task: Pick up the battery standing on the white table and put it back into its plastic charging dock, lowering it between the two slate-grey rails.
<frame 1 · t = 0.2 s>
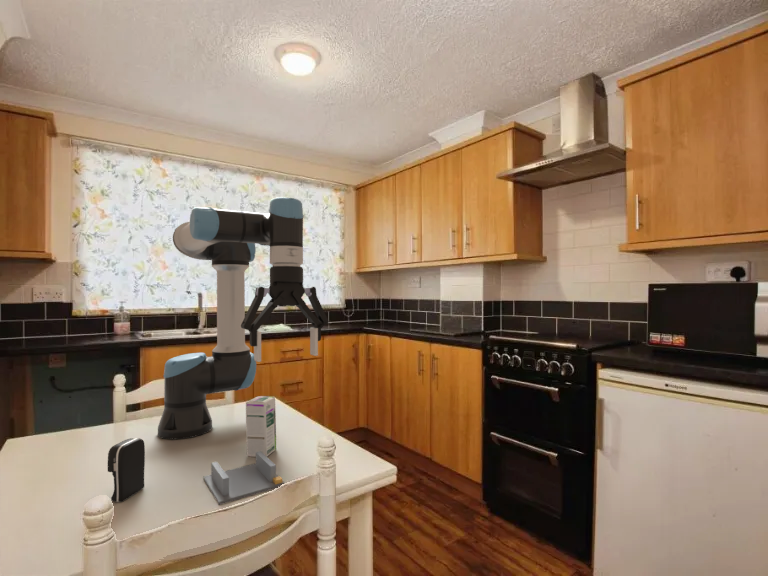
hand: (287, 357, 95), 28 cm above the table, fingers open, 13 cm apart
syrup box: (261, 453, 110), on the table
battery: (125, 495, 88), on the table
dock: (243, 482, 93), on the table
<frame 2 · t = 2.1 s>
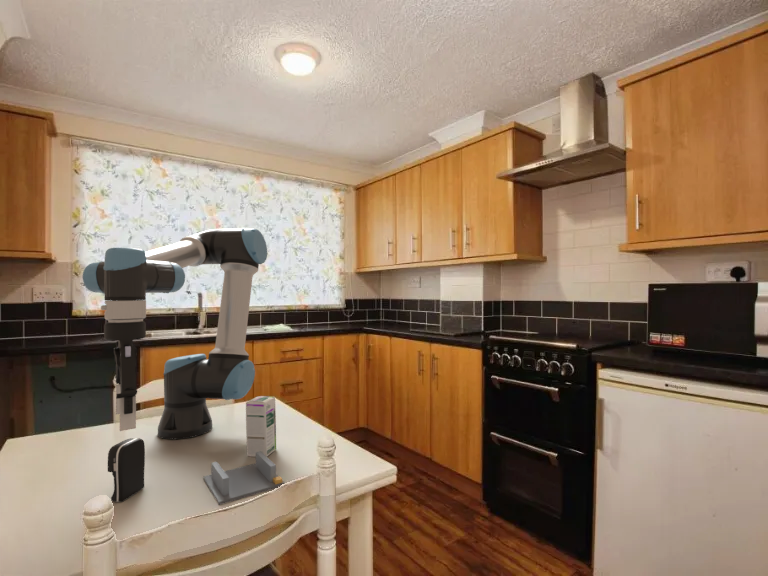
hand: (125, 420, 88), 16 cm above the table, fingers open, 13 cm apart
nothing on the table moved.
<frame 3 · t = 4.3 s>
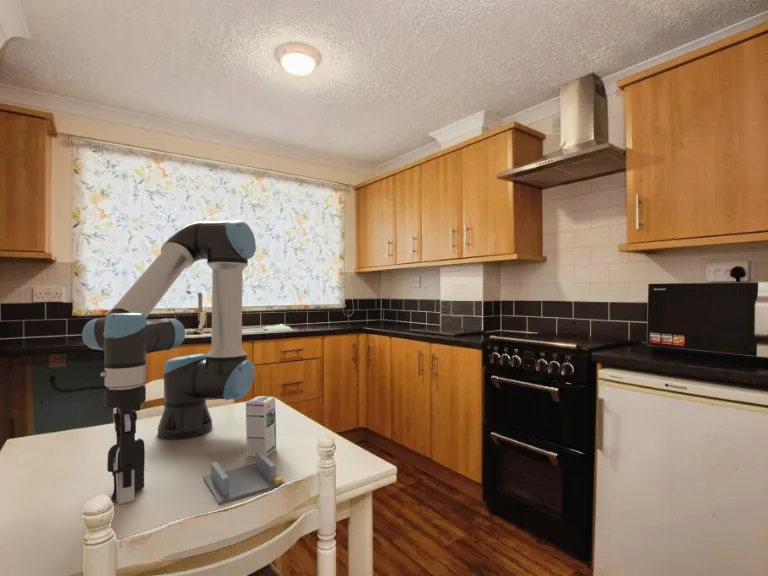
hand: (125, 493, 88), 0 cm above the table, fingers closed on battery, 7 cm apart
battery: (125, 495, 88), on the table, touching gripper
everything else where it was.
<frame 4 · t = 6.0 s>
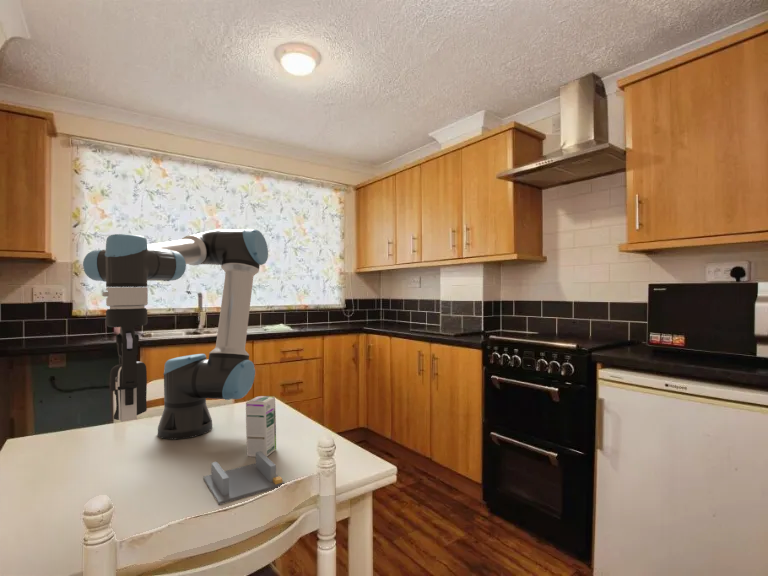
hand: (127, 415, 88), 17 cm above the table, fingers closed on battery, 7 cm apart
battery: (128, 417, 88), point 16 cm above the table, touching gripper
everything else where it was.
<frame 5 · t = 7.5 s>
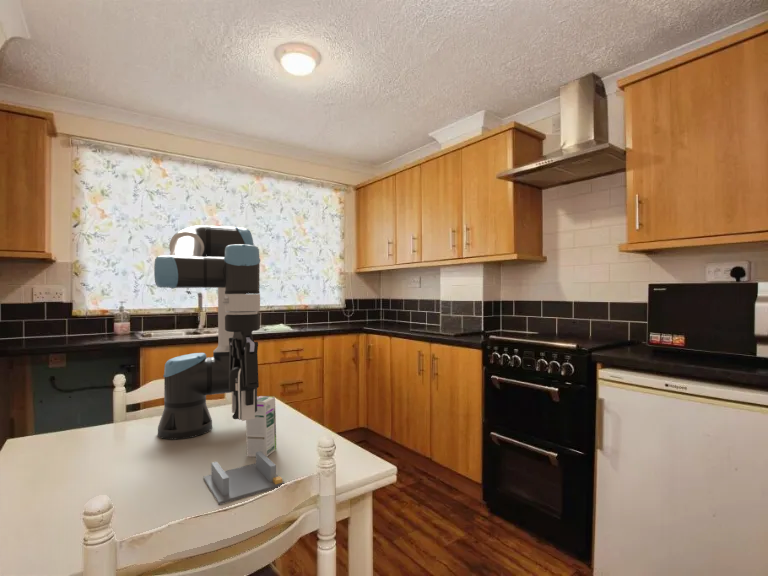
hand: (243, 415, 93), 15 cm above the table, fingers closed on battery, 7 cm apart
battery: (243, 416, 93), point 15 cm above the table, touching gripper
everything else where it was.
when the fingers open (2 cm above the table, at t = 10.1 s): battery drops 1 cm, resting on dock.
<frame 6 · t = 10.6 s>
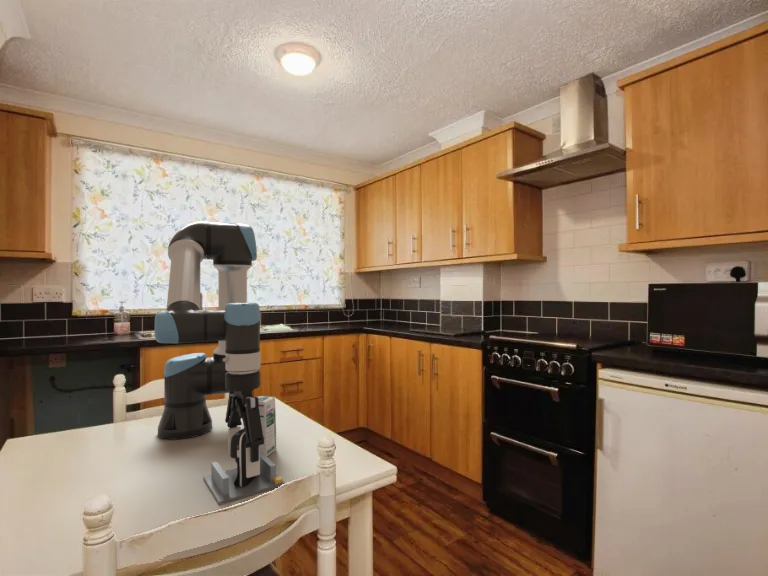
hand: (243, 464, 93), 4 cm above the table, fingers open, 13 cm apart
battery: (244, 481, 93), resting on dock
everything else where it was.
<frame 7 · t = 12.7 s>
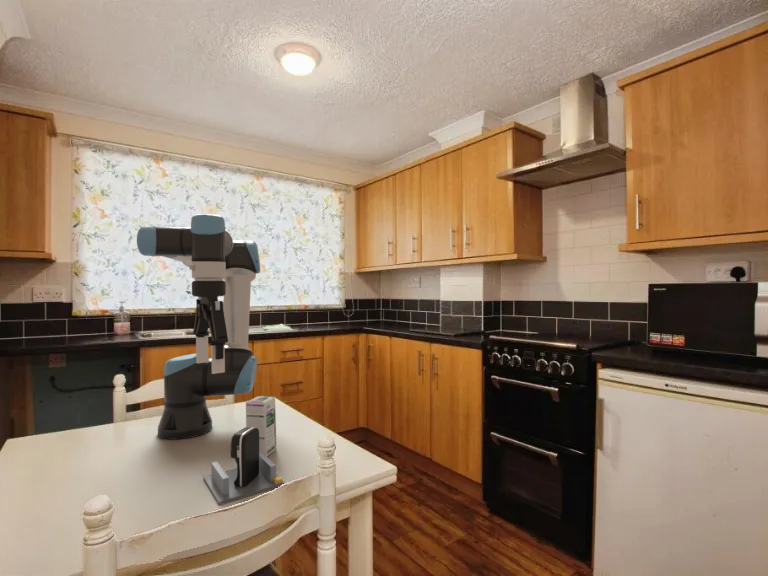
hand: (209, 367, 100), 25 cm above the table, fingers open, 13 cm apart
nothing on the table moved.
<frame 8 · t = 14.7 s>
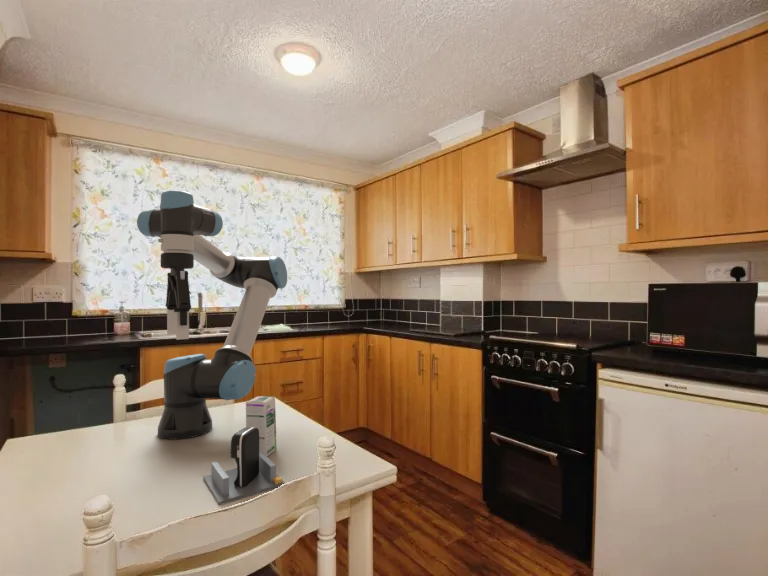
hand: (177, 336, 105), 32 cm above the table, fingers open, 13 cm apart
nothing on the table moved.
at the end: battery inside the target area on the dock (0.7 cm from its centre), point 0.4 cm above the dock's base; battery tilted 0°; the gripper is holding nothing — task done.
